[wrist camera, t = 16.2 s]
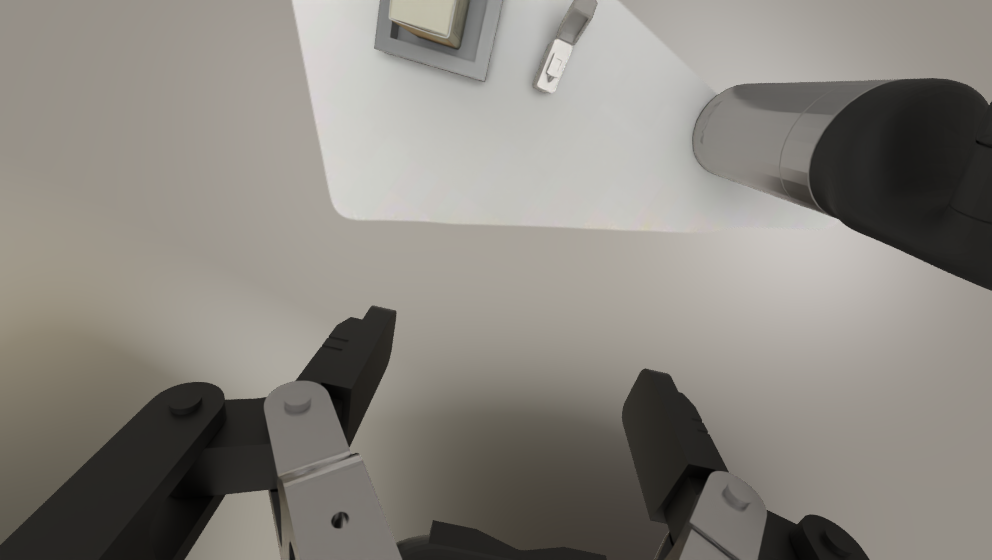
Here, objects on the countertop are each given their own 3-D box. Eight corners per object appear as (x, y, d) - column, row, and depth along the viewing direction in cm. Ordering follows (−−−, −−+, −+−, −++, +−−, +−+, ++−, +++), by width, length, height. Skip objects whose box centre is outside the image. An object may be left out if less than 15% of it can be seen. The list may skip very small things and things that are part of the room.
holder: (511, -38, 36) (514, -52, 33) (484, 81, 41) (484, 80, 37) (401, -75, 35) (391, -94, 32) (384, 52, 39) (374, 48, 36)
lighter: (547, 93, 41) (560, 94, 34) (531, 86, 41) (541, 85, 34) (578, 17, 38) (600, 0, 31) (562, 9, 38) (580, -11, 31)
